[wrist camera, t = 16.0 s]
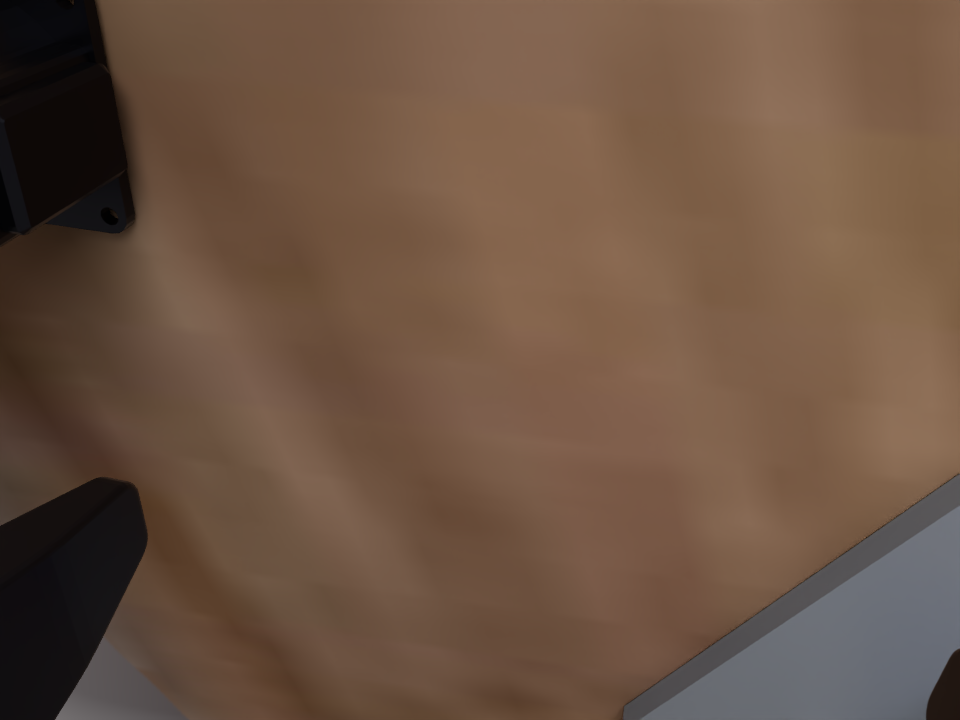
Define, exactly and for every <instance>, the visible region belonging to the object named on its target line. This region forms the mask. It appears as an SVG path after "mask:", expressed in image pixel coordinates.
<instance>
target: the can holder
mask: <svg viewBox="0 0 960 720" xmlns="http://www.w3.org/2000/svg"><path fill="white" fill-rule="evenodd" d="M959 648H960V474H959V475H957V476H956V477H954V478H953V479H951V480H950V481H948V482H947V483H946V484H944V485H943V486H941V487H940V488H938V489H937V490H935V491H934V492H933V493H931V494H930V495H928V496H927V497H925V498H924V499H922V500H921V501H920V502H918V503H917V504H915V505H914V506H912V507H911V508H909V509H908V510H907V511H905V512H904V513H902V514H901V515H899V516H898V517H896V518H895V519H894V520H892V521H891V522H889V523H888V524H886V525H885V526H884V527H882V528H881V529H879V530H878V531H876V532H875V533H873V534H872V535H871V536H869V537H868V538H866V539H865V540H863V541H862V542H860V543H859V544H858V545H856V546H855V547H853V548H852V549H850V550H849V551H847V552H846V553H845V554H843V555H842V556H840V557H839V558H837V559H836V560H834V561H833V562H832V563H830V564H829V565H827V566H826V567H824V568H823V569H821V570H820V571H819V572H817V573H816V574H814V575H813V576H811V577H810V578H809V579H807V580H806V581H804V582H803V583H801V584H800V585H798V586H797V587H796V588H794V589H793V590H791V591H790V592H788V593H787V594H785V595H784V596H783V597H781V598H780V599H778V600H777V601H775V602H774V603H772V604H771V605H770V606H768V607H767V608H765V609H764V610H762V611H761V612H759V613H758V614H757V615H755V616H754V617H752V618H751V619H749V620H748V621H746V622H745V623H744V624H742V625H741V626H739V627H738V628H736V629H735V630H733V631H732V632H731V633H729V634H728V635H726V636H725V637H723V638H722V639H721V640H719V641H718V642H716V643H715V644H713V645H712V646H710V647H709V648H708V649H706V650H705V651H703V652H702V653H700V654H699V655H697V656H696V657H695V658H693V659H692V660H690V661H689V662H687V663H686V664H684V665H683V666H682V667H680V668H679V669H677V670H676V671H674V672H673V673H671V674H670V675H669V676H667V677H666V678H664V679H663V680H661V681H660V682H658V683H657V684H656V685H654V686H653V687H651V688H650V689H648V690H647V691H645V692H644V693H643V694H641V695H640V696H638V697H637V698H635V699H634V700H633V701H631V702H630V703H628V704H627V705H625V706H624V714H623V720H926V709H927V703H928V700H929V697H930V695H931V693H932V691H933V689H934V687H935V685H936V683H937V681H938V679H939V677H940V675H941V673H942V671H943V669H944V667H945V666H946V664H947V662H948V660H949V658H950V656H951V655H952V653H953V652H954V651H956V650H957V649H959Z"/></svg>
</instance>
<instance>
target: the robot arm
mask: <svg viewBox="0 0 960 720" xmlns="http://www.w3.org/2000/svg"><path fill="white" fill-rule="evenodd" d="M126 168H127V161H126V155H125V150H124V145H123V139H122V134H121V129H120V123H119V118H118V113H117V107H116V102H115V97H114V91H113V86H112V81H111V76H110V74H109V72H108V70H107V64H106V59H105V54H104V48H103V43H102V38H101V33H100V27H99V22H98V17H97V11H96V6H95V1H94V0H74V5H72V4H71V3H70V2H69V1H68V0H0V247H1V246H3V245H4V244H6V243H8V242H9V241H11V240H12V239H14V238H15V237H17V236H19V235H26V234H29V233H31V232H32V231H34V230H35V229H37V228H39V227H40V226H42V225H43V224H52V225H59V226H66V227H72V228H79V229H86V230H93V231H100V232H107V233H120V232H122V231H123V230H125V229H126V228H128V227H129V226H130V225H132V223H133V221H134V219H135V212H134V207H133V202H132V196H131V191H130V186H129V181H128V175H127V170H126ZM109 208H111V209H113V210H114V211H115V212H116V214H117V216H118V219H117V218H115V217H114V216H113V215H112V214H111V212H110V210H109ZM147 539H148V533H147V527H146V523H145V519H144V514H143V510H142V506H141V501H140V497H139V493H138V490H137V488H136V487H135V485H134V484H133V483H131V482H128V481H123V480H118V479H113V478H108V477H99V478H96V479H93V480H91V481H89V482H87V483H85V484H83V485H81V486H79V487H77V488H75V489H73V490H71V491H69V492H67V493H65V494H63V495H61V496H59V497H57V498H55V499H53V500H51V501H49V502H47V503H45V504H43V505H41V506H39V507H37V508H35V509H33V510H31V511H29V512H27V513H25V514H23V515H21V516H19V517H17V518H15V519H13V520H11V521H9V522H7V523H5V524H3V525H1V526H0V720H55V719H56V717H57V715H58V714H59V712H60V711H61V709H62V708H63V706H64V704H65V703H66V701H67V700H68V698H69V696H70V695H71V693H72V692H73V690H74V688H75V687H76V685H77V683H78V682H79V680H80V678H81V677H82V675H83V673H84V672H85V670H86V668H87V667H88V665H89V663H90V661H91V659H92V657H93V655H94V653H95V652H96V650H97V648H98V646H99V644H100V642H101V640H102V638H103V636H104V634H105V632H106V630H107V628H108V625H109V623H110V621H111V619H112V617H113V615H114V613H115V611H116V609H117V607H118V605H119V603H120V601H121V599H122V597H123V595H124V593H125V591H126V589H127V587H128V585H129V583H130V581H131V579H132V577H133V575H134V573H135V571H136V569H137V567H138V565H139V563H140V561H141V559H142V557H143V554H144V552H145V549H146V546H147ZM926 720H960V648H959V649H957V650H956V651H954V652H953V653H952V655H951V656H950V658H949V660H948V662H947V664H946V666H945V667H944V669H943V671H942V673H941V675H940V677H939V679H938V681H937V683H936V685H935V687H934V689H933V691H932V693H931V695H930V697H929V700H928V703H927V709H926Z"/></svg>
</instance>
